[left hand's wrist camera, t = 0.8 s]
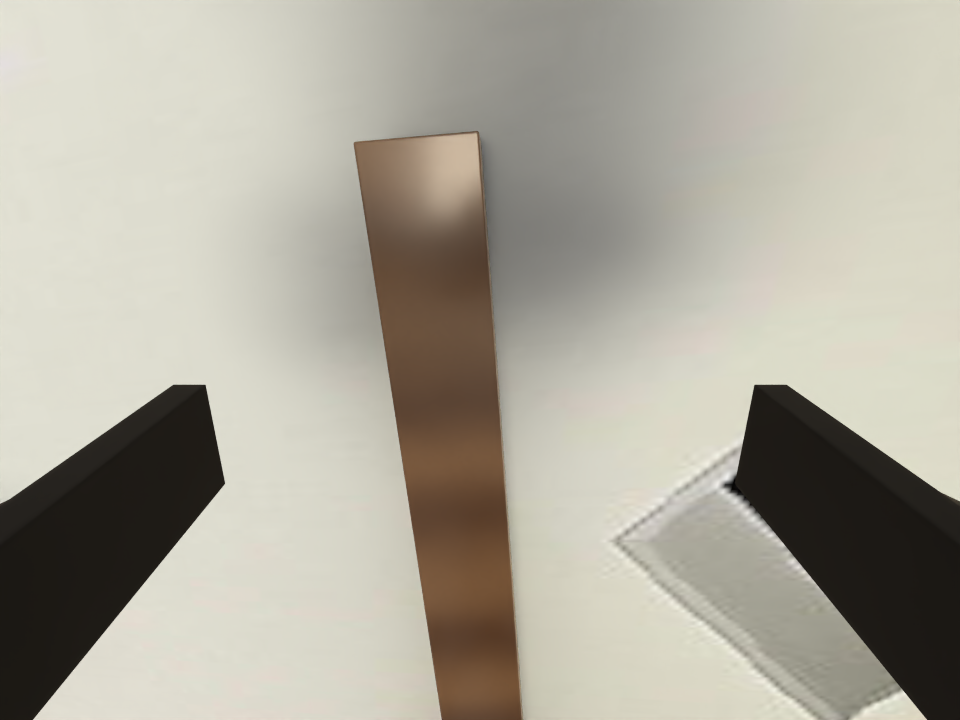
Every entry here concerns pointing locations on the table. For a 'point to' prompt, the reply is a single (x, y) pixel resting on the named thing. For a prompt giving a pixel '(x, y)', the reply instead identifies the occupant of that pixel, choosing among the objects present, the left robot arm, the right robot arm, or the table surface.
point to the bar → (447, 406)
